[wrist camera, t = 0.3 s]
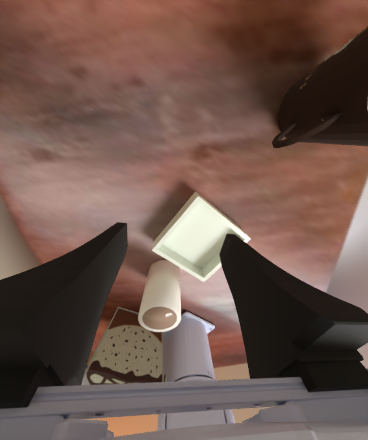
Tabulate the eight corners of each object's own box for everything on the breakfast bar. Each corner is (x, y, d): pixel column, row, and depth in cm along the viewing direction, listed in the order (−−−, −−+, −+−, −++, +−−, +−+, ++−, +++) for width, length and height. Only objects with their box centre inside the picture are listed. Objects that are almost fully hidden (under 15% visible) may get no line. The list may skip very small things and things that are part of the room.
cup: (167, 288, 27) (164, 337, 20) (142, 274, 26) (129, 322, 18) (185, 269, 26) (189, 315, 18) (160, 254, 24) (154, 297, 17)
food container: (99, 323, 30) (66, 397, 21) (110, 303, 28) (78, 376, 19) (155, 339, 33) (148, 410, 24) (169, 322, 31) (166, 392, 22)
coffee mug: (355, 59, 16) (598, -71, 7) (330, 148, 19) (470, 142, 10) (247, 67, 16) (348, -57, 7) (241, 156, 19) (302, 157, 10)
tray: (201, 270, 26) (203, 282, 24) (154, 240, 23) (151, 250, 21) (243, 230, 23) (251, 238, 21) (195, 191, 21) (198, 195, 18)
